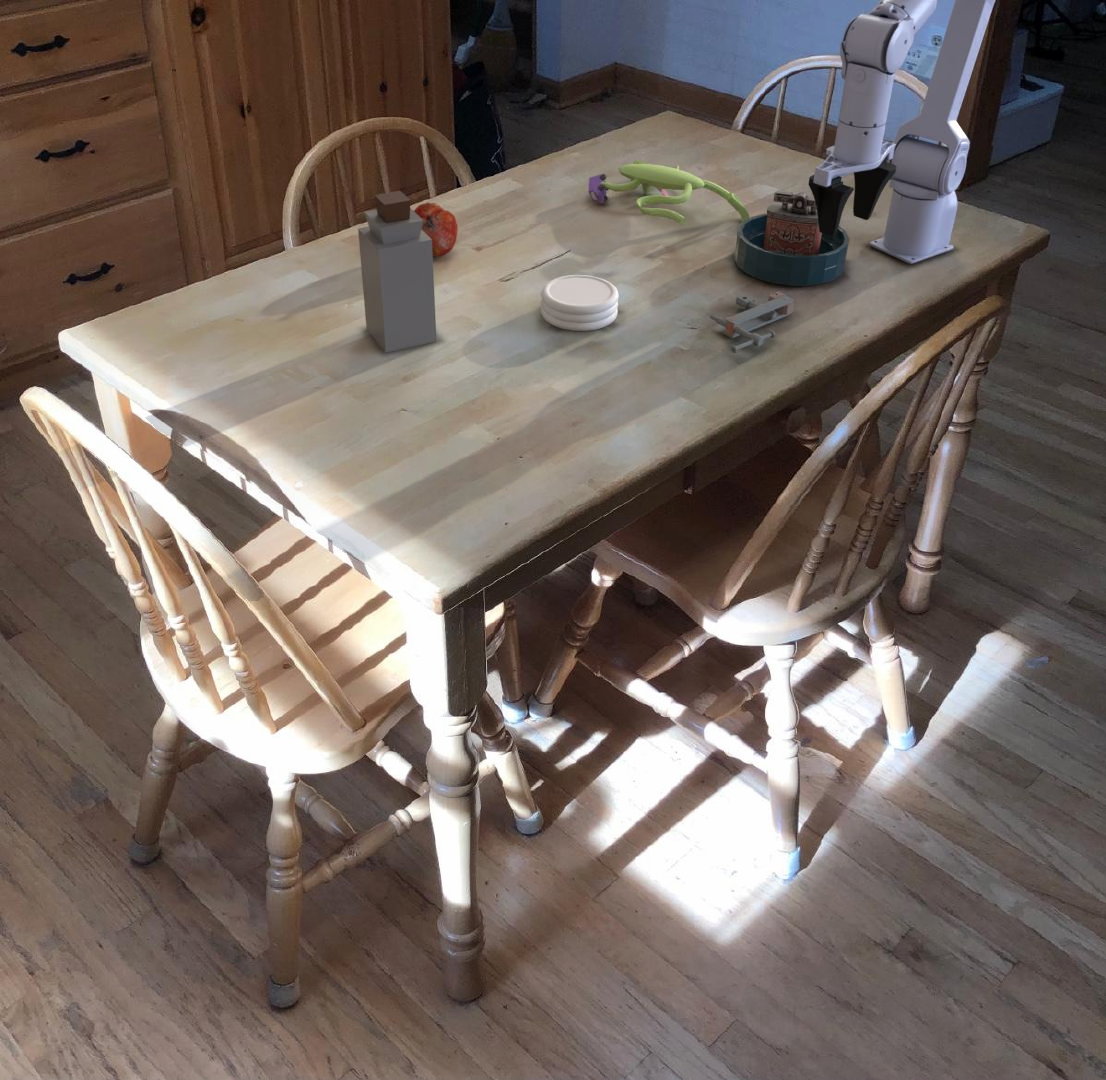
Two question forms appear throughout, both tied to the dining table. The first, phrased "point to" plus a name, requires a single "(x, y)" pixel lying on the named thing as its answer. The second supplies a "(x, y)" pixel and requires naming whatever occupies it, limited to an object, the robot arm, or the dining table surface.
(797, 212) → the lighter
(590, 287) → the coaster
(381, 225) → the perfume bottle
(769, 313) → the clamp
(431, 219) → the pomegranate
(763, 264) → the bowl
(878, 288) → the dining table surface
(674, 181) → the figurine
